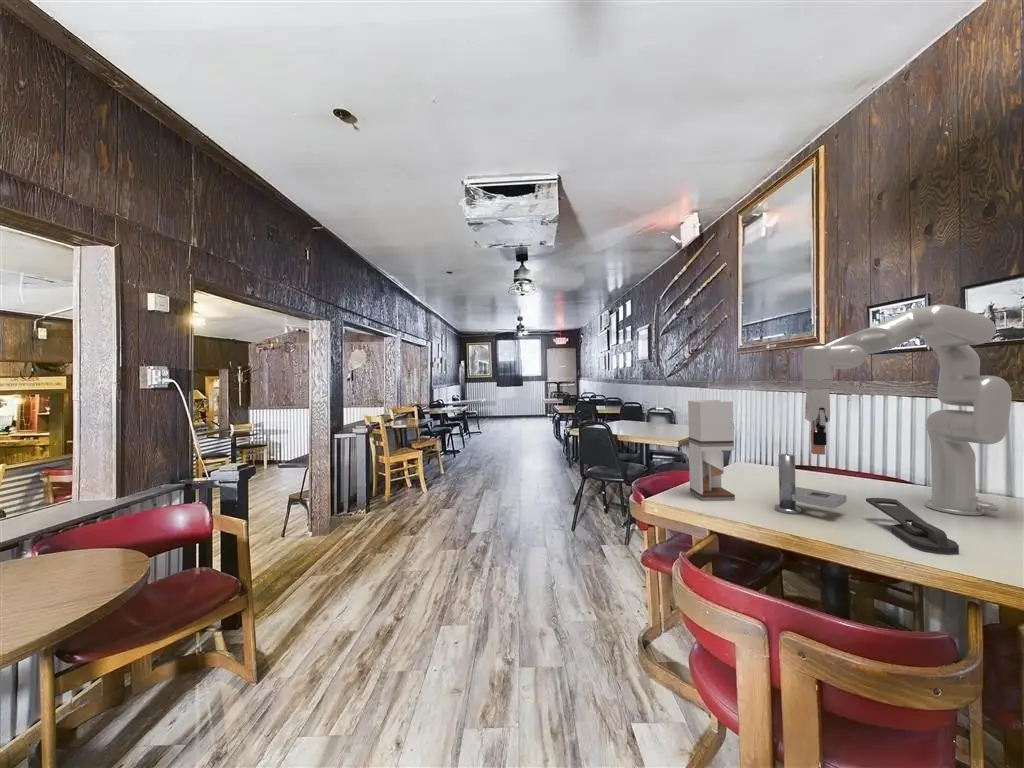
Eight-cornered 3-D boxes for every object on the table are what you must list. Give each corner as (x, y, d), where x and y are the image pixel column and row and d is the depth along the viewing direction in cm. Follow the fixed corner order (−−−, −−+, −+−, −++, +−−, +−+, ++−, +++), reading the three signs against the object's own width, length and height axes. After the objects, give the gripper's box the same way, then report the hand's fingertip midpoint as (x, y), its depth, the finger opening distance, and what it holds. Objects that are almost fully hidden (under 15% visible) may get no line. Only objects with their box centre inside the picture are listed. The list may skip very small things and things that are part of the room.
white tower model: (701, 500, 143) (700, 402, 143) (689, 492, 154) (688, 400, 154) (734, 500, 143) (733, 401, 142) (720, 492, 153) (718, 399, 153)
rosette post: (846, 514, 126) (845, 457, 126) (832, 524, 118) (831, 462, 118) (787, 502, 139) (786, 450, 139) (770, 510, 132) (769, 455, 132)
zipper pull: (897, 498, 120) (967, 528, 96) (897, 520, 120) (967, 556, 96) (861, 496, 123) (920, 526, 98) (862, 518, 123) (921, 553, 98)
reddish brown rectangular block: (811, 452, 129) (811, 421, 129) (822, 453, 128) (823, 421, 127) (813, 454, 126) (813, 422, 126) (825, 454, 125) (825, 422, 125)
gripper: (798, 385, 136) (799, 439, 136) (808, 386, 121) (809, 447, 121) (826, 384, 132) (826, 441, 133) (840, 386, 118) (840, 449, 118)
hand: (818, 443), depth 127 cm, fingers closed on reddish brown rectangular block, 3 cm apart
